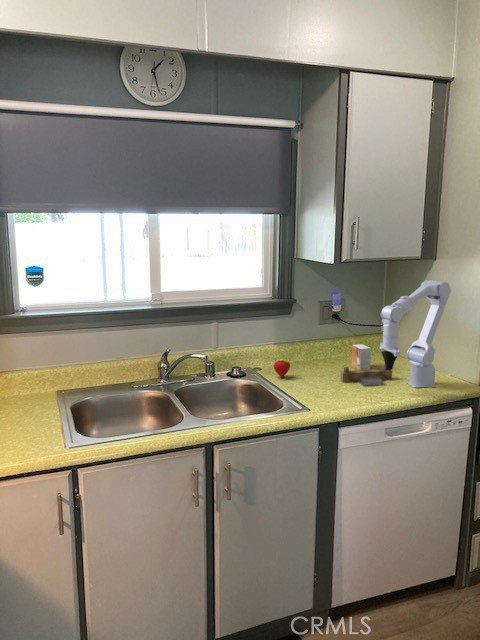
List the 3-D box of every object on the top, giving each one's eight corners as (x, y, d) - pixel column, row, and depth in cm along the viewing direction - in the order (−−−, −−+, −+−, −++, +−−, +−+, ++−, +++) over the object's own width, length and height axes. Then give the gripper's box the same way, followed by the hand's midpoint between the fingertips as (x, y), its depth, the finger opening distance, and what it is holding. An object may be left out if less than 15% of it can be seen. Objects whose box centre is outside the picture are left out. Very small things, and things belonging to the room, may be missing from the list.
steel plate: (375, 381, 229) (376, 375, 229) (381, 385, 223) (381, 380, 223) (358, 382, 228) (358, 377, 227) (363, 387, 222) (363, 381, 222)
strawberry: (271, 376, 237) (271, 354, 235) (287, 374, 239) (287, 353, 237) (275, 380, 231) (275, 357, 229) (292, 378, 233) (292, 356, 231)
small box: (351, 366, 250) (351, 344, 248) (361, 365, 252) (362, 343, 249) (359, 371, 242) (360, 348, 240) (370, 370, 244) (371, 347, 242)
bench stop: (388, 377, 233) (389, 364, 232) (391, 379, 230) (392, 366, 229) (340, 380, 230) (340, 366, 229) (342, 382, 227) (343, 368, 226)
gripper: (373, 332, 217) (372, 364, 219) (388, 341, 203) (386, 375, 205) (390, 331, 218) (388, 363, 220) (406, 340, 204) (404, 374, 206)
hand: (389, 369), depth 213 cm, fingers closed
